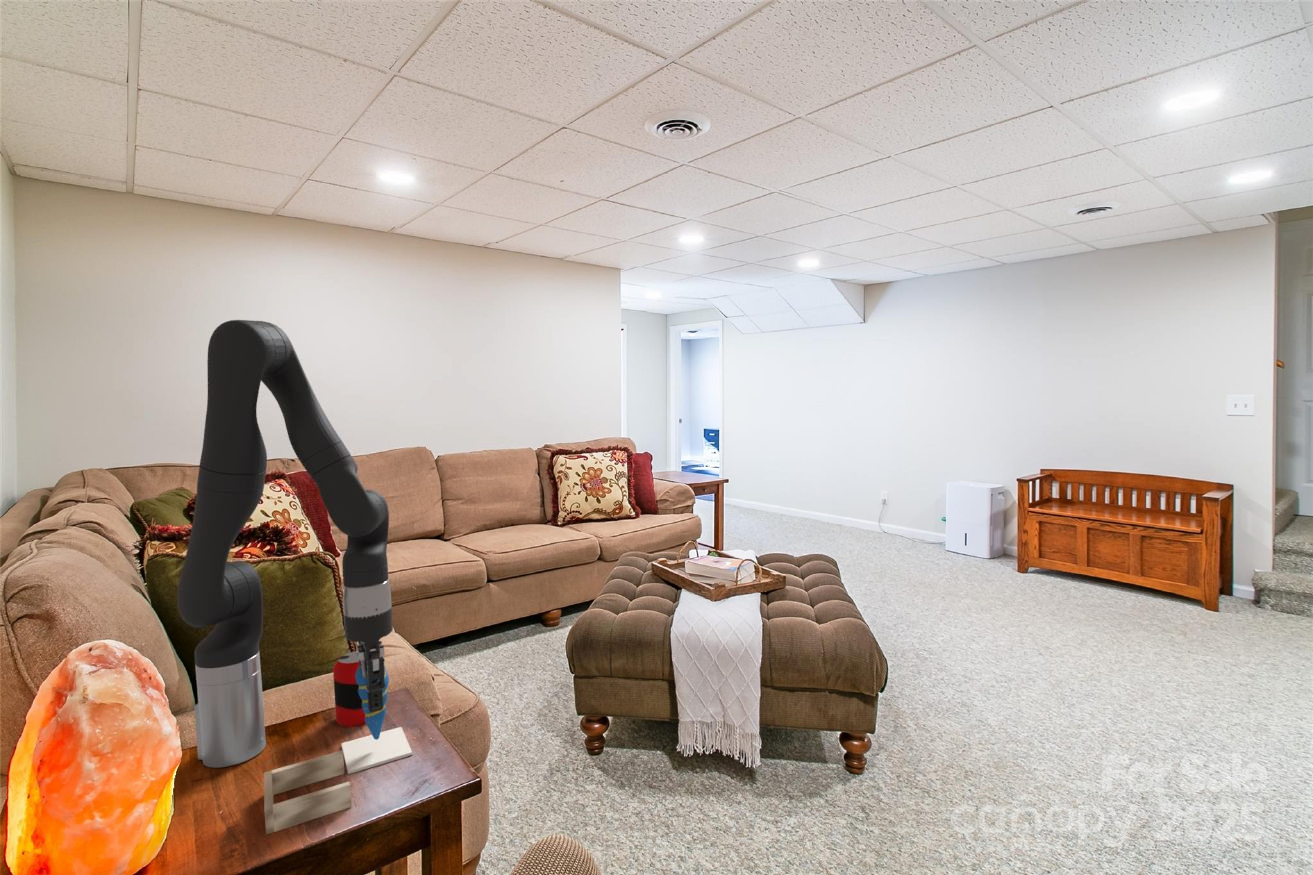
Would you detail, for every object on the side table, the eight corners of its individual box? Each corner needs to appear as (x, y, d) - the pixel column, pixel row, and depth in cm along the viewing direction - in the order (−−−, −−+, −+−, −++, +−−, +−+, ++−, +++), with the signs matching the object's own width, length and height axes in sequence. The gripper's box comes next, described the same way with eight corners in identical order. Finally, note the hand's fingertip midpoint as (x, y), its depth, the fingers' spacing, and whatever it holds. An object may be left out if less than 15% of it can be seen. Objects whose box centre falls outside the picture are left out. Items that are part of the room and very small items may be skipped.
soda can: (345, 709, 127) (341, 650, 126) (384, 706, 127) (381, 647, 126) (329, 729, 119) (325, 666, 118) (372, 726, 120) (368, 663, 119)
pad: (348, 774, 105) (347, 771, 105) (341, 745, 113) (341, 743, 113) (412, 754, 110) (412, 752, 110) (401, 729, 118) (401, 726, 118)
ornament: (379, 748, 108) (374, 662, 107) (352, 745, 109) (347, 660, 108) (397, 732, 113) (393, 650, 112) (372, 730, 114) (367, 648, 113)
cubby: (266, 834, 91) (264, 811, 90) (265, 793, 100) (264, 772, 100) (351, 806, 96) (350, 784, 96) (343, 770, 106) (342, 750, 105)
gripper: (398, 615, 105) (404, 715, 107) (384, 592, 118) (389, 682, 119) (348, 624, 101) (354, 728, 103) (339, 600, 114) (345, 693, 115)
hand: (373, 703), depth 111 cm, fingers closed on ornament, 5 cm apart
